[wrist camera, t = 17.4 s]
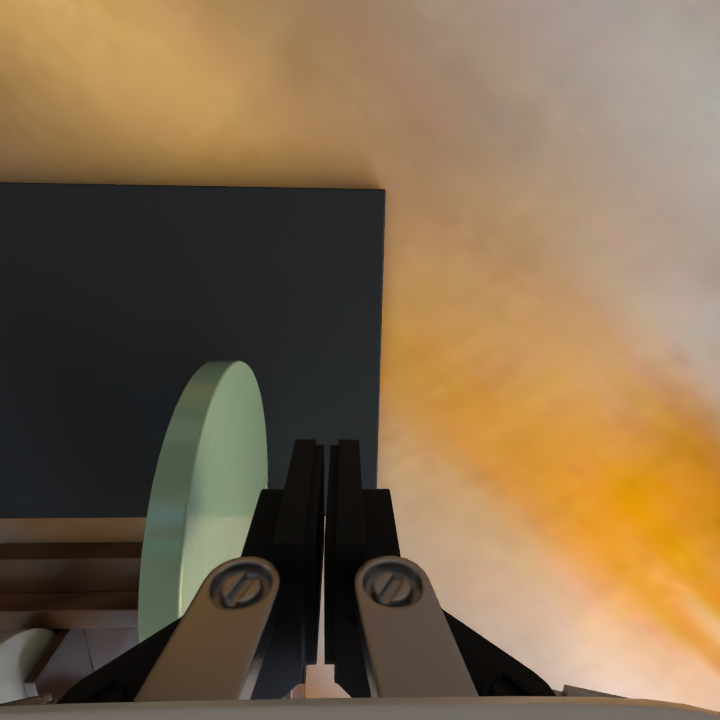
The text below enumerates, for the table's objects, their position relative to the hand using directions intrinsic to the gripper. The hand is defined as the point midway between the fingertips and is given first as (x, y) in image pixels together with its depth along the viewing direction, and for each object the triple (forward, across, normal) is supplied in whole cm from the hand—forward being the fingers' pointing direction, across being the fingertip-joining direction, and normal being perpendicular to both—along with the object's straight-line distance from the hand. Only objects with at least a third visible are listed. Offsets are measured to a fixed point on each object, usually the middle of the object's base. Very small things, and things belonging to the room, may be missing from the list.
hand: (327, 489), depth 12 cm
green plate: (+4, +4, +4) cm, 7 cm away
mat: (+10, +8, 0) cm, 13 cm away
